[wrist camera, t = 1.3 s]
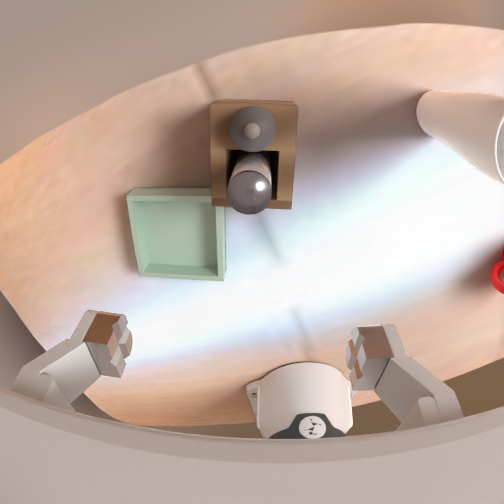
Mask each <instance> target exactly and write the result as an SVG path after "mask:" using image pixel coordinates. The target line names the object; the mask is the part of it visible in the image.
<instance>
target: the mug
mask: <svg viewBox="0 0 504 504" xmlns="http://www.w3.org/2000/svg"><path fill="white" fill-rule="evenodd" d="M503 270H504V252H503V255H502V260H501V261H499V262H498V263H496V264H495V265H494V267H493V268H492V271H491V275H490V277H491V282H492V284H493V286H494V287H495V289H496V290H498V291H499V292H501V293H503V294H504V282H503V281H502V280H501V279H500V277H499V275H500V273H501V271H503Z"/></svg>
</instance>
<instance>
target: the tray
mask: <svg viewBox="0 0 504 504" xmlns="http://www.w3.org/2000/svg"><path fill="white" fill-rule="evenodd" d="M126 198H127V205H128V212H129V219H130V225H131V231H132V237H133V243H134V249H135V255H136V260H137V265H138V271H139V276H145V277H160V278H175V279H192V280H209V281H224V277H225V272H226V245H225V207H215V206H212V201H211V188H182V187H159V188H134V189H133V190H132V191H131V192H130V193H129V194H128V195H127V196H126Z"/></svg>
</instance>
